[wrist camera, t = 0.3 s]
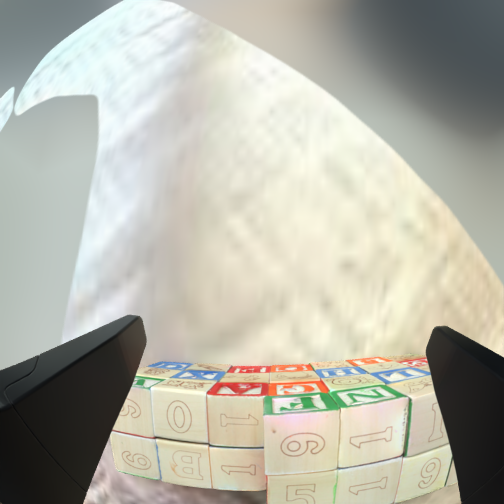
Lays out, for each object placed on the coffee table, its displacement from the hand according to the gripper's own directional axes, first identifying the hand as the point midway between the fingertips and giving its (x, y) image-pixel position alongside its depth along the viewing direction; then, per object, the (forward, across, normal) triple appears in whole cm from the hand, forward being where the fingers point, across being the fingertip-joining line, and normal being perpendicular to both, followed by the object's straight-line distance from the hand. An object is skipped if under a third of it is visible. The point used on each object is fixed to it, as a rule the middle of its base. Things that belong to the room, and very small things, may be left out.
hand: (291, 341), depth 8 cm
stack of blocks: (+9, -1, +13) cm, 16 cm away
